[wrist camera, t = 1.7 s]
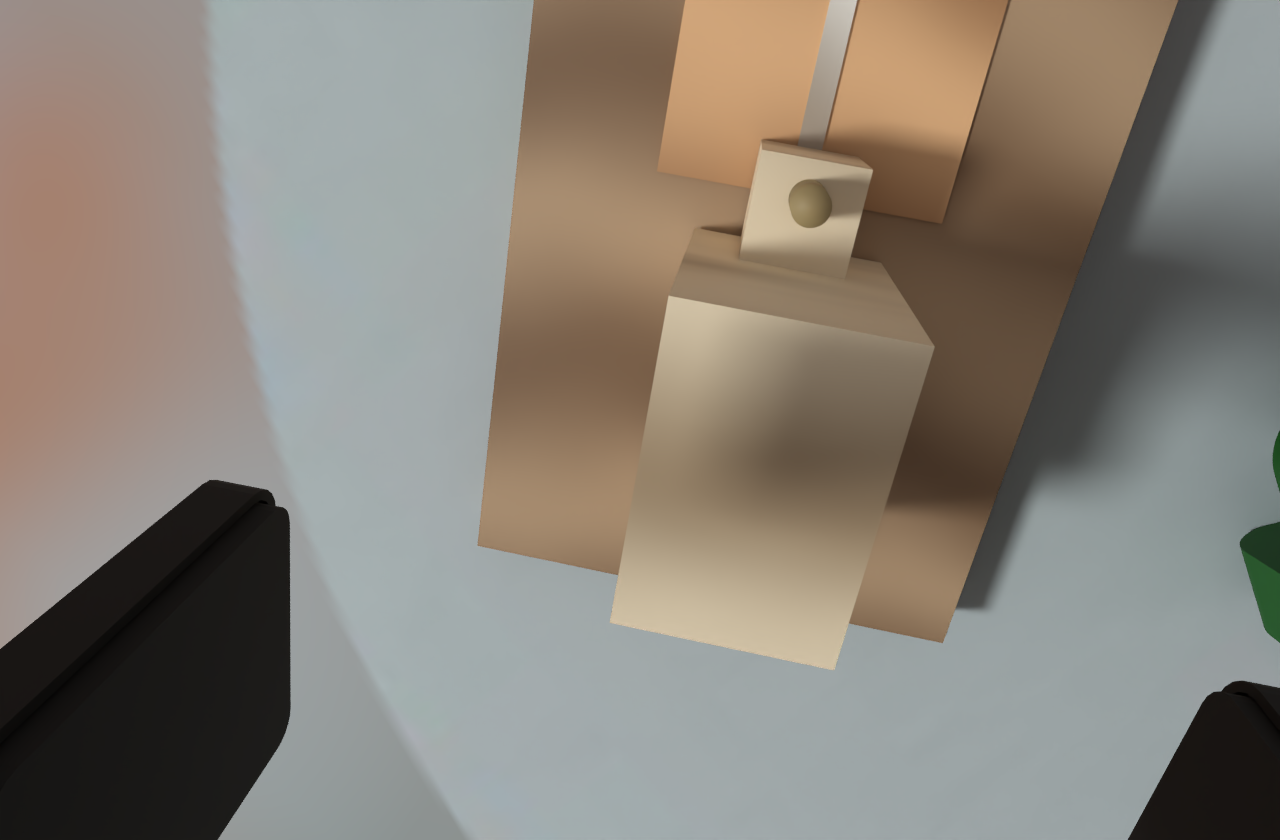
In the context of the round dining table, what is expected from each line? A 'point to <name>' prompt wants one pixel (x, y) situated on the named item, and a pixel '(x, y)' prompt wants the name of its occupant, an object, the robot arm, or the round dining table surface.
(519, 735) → the round dining table surface
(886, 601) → the board
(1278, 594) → the clamp
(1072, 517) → the round dining table surface
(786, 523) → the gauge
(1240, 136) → the round dining table surface
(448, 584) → the round dining table surface
